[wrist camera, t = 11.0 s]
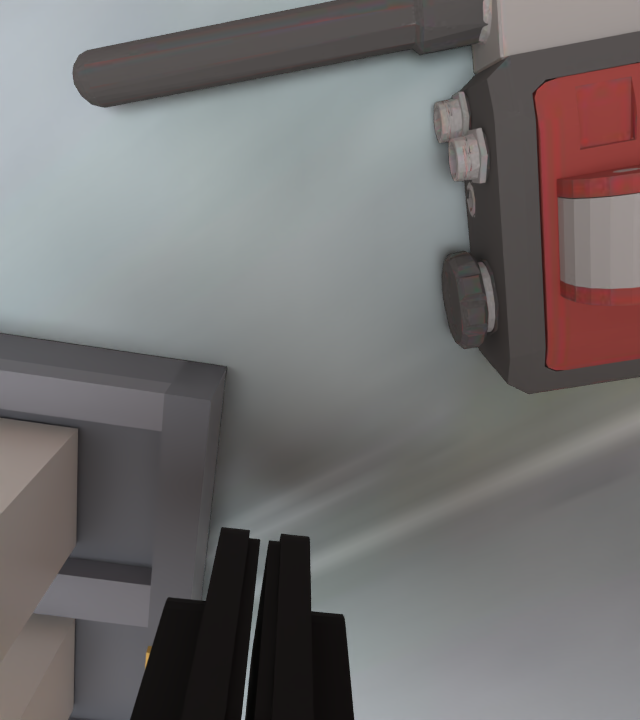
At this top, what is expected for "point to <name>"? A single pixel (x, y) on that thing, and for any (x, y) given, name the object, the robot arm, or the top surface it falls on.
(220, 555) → the robot arm
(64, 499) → the tab
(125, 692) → the switch board
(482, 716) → the top surface
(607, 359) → the walkie-talkie
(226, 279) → the top surface
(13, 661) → the tab
